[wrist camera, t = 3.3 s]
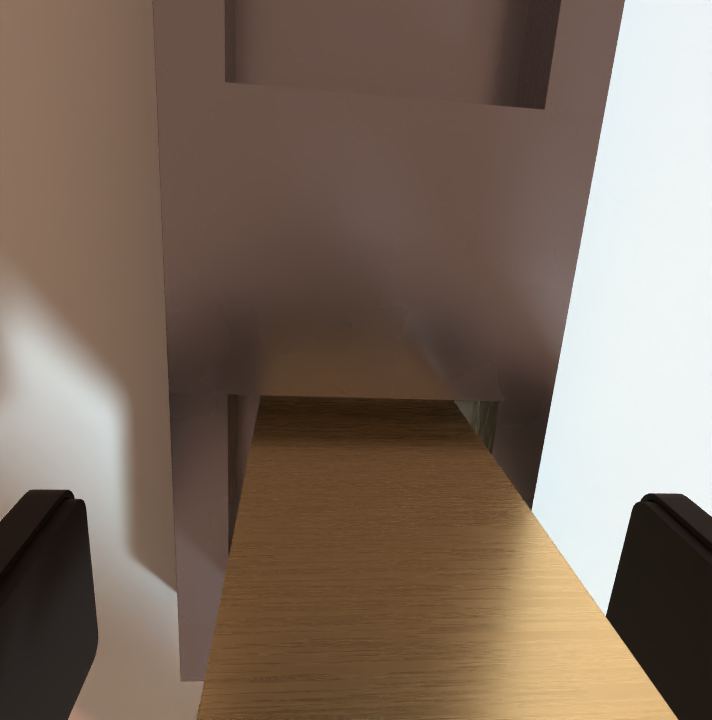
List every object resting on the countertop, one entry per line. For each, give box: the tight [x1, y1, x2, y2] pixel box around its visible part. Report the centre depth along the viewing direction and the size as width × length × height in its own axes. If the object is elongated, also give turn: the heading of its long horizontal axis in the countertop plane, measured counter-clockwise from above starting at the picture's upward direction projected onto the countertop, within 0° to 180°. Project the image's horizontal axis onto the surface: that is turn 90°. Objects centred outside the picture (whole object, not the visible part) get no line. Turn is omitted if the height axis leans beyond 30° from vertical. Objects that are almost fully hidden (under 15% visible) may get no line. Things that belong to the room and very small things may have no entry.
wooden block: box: [197, 395, 678, 720], centre depth 8 cm, size 4×4×8 cm
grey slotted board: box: [153, 0, 625, 682], centre depth 10 cm, size 18×7×2 cm, turn 176°
